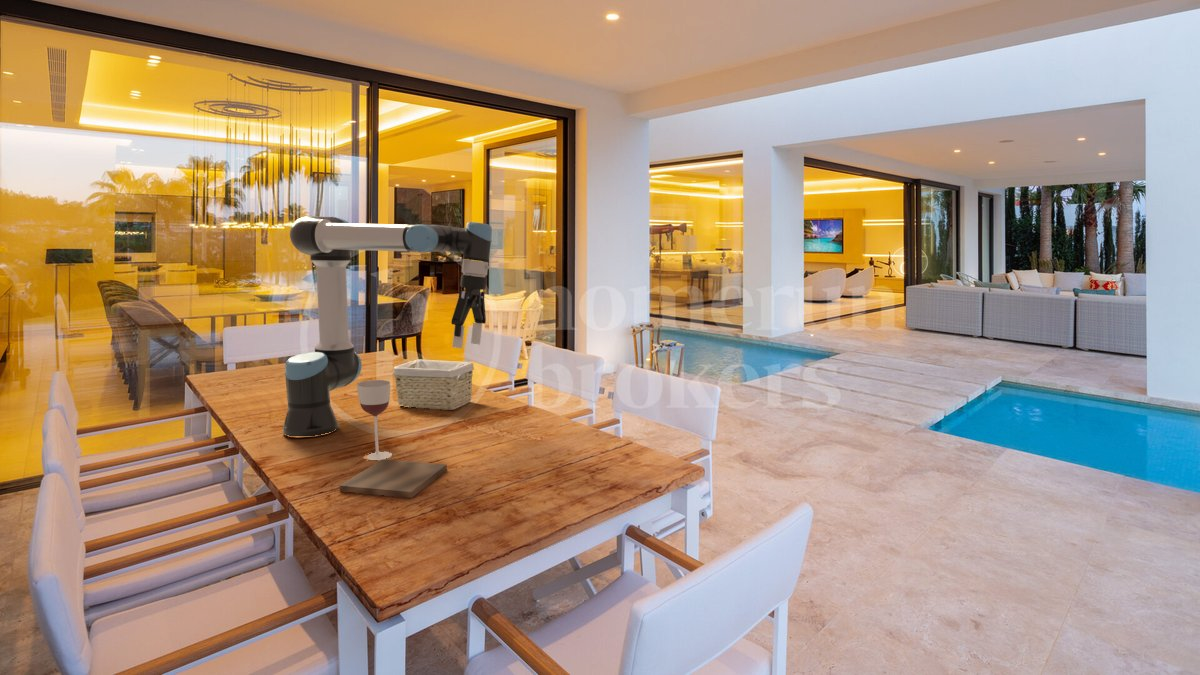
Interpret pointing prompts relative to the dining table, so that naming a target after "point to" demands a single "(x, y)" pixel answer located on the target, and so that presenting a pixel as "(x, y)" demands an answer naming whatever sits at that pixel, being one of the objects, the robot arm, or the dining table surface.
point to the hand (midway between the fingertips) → (466, 345)
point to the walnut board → (394, 478)
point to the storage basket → (434, 384)
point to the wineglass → (375, 407)
